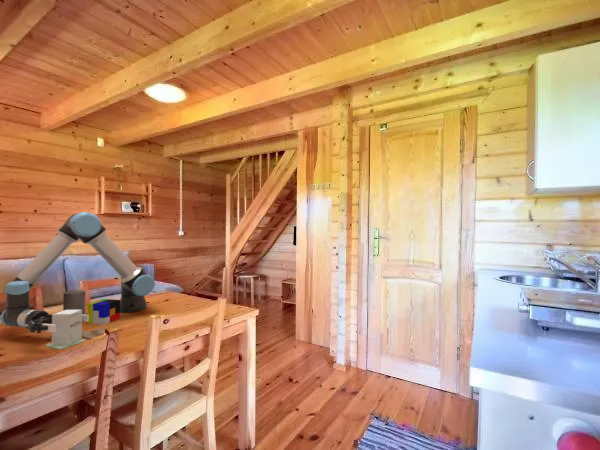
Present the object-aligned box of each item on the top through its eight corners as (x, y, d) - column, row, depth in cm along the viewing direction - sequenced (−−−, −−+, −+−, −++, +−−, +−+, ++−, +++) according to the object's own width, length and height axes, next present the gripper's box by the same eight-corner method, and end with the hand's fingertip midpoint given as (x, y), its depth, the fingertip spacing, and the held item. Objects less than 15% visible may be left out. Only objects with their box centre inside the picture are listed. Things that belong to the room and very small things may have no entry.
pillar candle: (58, 318, 161) (59, 290, 161) (78, 313, 170) (78, 286, 170) (70, 320, 157) (70, 291, 157) (89, 315, 166) (89, 288, 166)
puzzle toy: (104, 324, 150) (104, 304, 150) (87, 323, 152) (87, 303, 152) (120, 318, 160) (120, 299, 160) (104, 317, 162) (104, 299, 162)
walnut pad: (100, 329, 143) (100, 328, 143) (114, 332, 139) (114, 331, 139) (77, 336, 134) (77, 335, 134) (91, 339, 130) (91, 338, 130)
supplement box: (69, 345, 122) (69, 314, 122) (51, 345, 122) (51, 314, 122) (82, 338, 129) (82, 309, 130) (65, 338, 130) (65, 309, 130)
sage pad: (72, 337, 132) (72, 336, 132) (86, 341, 128) (86, 340, 128) (45, 346, 123) (45, 344, 123) (59, 350, 119) (59, 348, 119)
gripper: (63, 319, 142) (99, 322, 137) (-2, 338, 118) (39, 343, 113) (63, 303, 142) (99, 306, 137) (-1, 319, 118) (39, 323, 113)
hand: (72, 323), depth 125 cm, fingers open, 13 cm apart
